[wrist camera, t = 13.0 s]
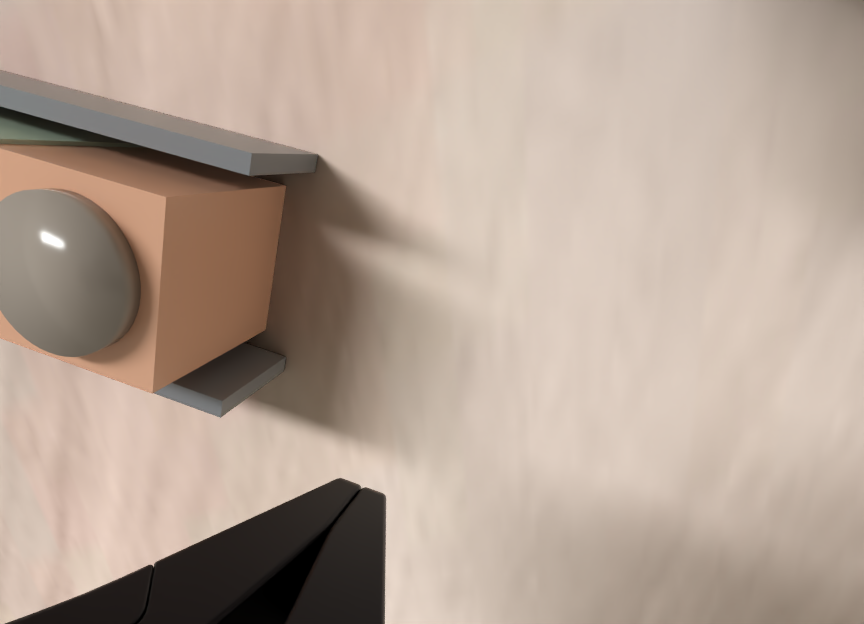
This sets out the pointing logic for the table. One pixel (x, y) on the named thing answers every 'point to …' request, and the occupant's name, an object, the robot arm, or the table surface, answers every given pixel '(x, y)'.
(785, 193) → the table surface
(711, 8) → the table surface
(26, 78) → the lane
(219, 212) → the orange block with dome
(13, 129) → the sage jar
